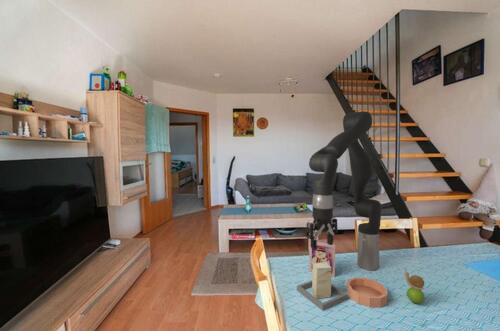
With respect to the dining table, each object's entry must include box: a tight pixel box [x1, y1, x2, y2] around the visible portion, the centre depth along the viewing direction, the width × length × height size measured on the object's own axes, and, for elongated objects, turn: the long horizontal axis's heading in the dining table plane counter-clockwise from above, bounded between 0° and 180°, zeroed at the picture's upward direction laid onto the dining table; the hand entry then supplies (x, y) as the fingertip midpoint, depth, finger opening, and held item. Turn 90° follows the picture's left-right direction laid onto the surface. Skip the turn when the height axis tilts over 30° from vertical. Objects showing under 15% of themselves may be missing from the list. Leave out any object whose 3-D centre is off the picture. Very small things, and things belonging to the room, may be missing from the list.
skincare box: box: [311, 262, 332, 299], centre depth 93 cm, size 6×4×12 cm
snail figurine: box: [404, 267, 425, 305], centre depth 89 cm, size 5×6×12 cm
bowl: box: [346, 276, 388, 308], centre depth 93 cm, size 14×14×4 cm
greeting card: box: [308, 238, 336, 278], centre depth 111 cm, size 11×7×15 cm, turn 64°
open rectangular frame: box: [296, 280, 349, 312], centre depth 94 cm, size 13×14×2 cm
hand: (322, 246), depth 92 cm, fingers open, 8 cm apart
